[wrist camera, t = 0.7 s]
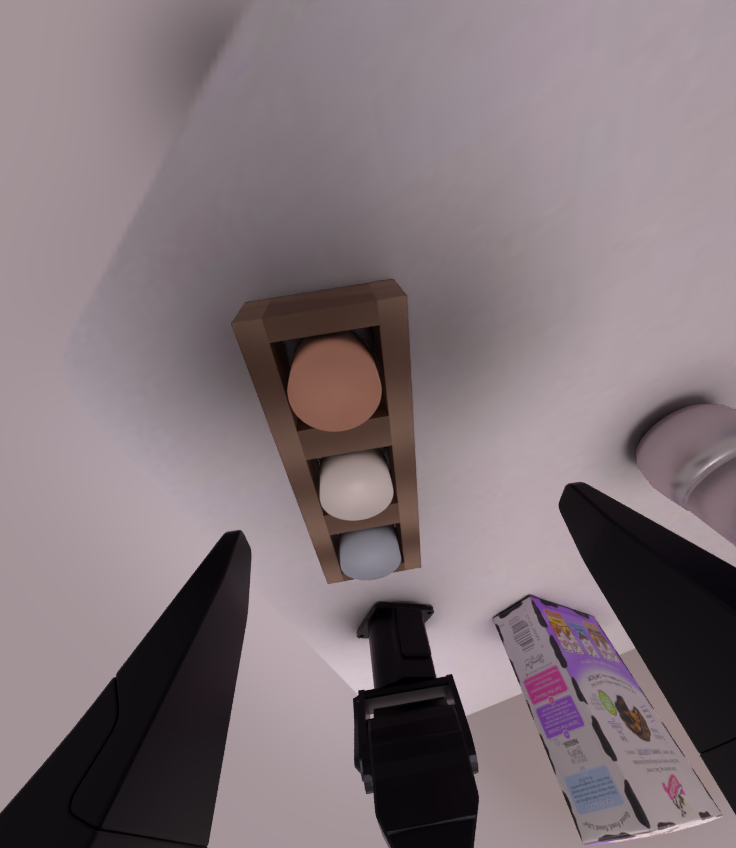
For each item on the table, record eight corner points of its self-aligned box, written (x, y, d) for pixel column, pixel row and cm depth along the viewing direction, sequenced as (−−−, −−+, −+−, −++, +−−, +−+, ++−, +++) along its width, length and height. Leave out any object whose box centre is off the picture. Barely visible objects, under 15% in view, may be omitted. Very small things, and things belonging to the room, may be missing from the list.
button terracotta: (378, 396, 17) (385, 423, 15) (302, 409, 17) (300, 438, 15) (369, 321, 15) (376, 342, 13) (281, 335, 15) (275, 358, 13)
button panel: (412, 533, 27) (421, 567, 25) (327, 548, 27) (327, 584, 24) (393, 278, 16) (406, 295, 13) (245, 302, 15) (231, 323, 13)
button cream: (388, 482, 21) (396, 513, 19) (327, 493, 21) (327, 525, 19) (382, 433, 19) (390, 463, 17) (313, 445, 19) (312, 476, 17)
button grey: (396, 543, 25) (402, 574, 23) (343, 552, 25) (345, 584, 23) (392, 508, 23) (398, 539, 21) (334, 518, 23) (335, 550, 21)
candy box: (489, 618, 38) (581, 850, 25) (529, 592, 36) (655, 835, 22) (558, 636, 44) (663, 834, 30) (597, 616, 41) (729, 820, 28)
